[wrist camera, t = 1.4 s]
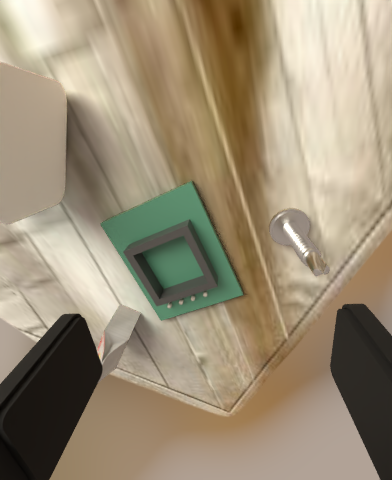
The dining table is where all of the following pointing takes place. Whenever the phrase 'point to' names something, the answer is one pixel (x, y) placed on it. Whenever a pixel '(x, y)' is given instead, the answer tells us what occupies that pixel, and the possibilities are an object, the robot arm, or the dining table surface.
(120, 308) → the tea bag
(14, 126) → the cable organizer
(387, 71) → the dining table surface
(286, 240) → the screw
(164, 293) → the board
